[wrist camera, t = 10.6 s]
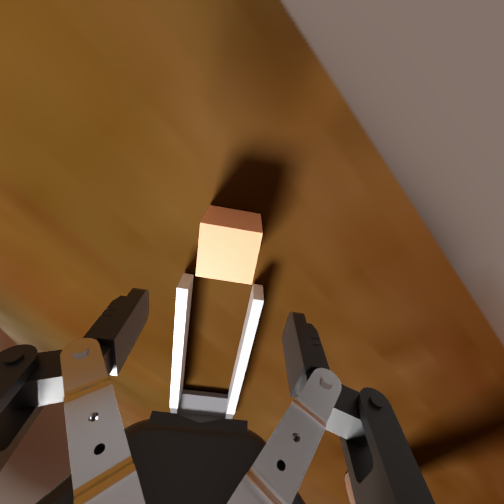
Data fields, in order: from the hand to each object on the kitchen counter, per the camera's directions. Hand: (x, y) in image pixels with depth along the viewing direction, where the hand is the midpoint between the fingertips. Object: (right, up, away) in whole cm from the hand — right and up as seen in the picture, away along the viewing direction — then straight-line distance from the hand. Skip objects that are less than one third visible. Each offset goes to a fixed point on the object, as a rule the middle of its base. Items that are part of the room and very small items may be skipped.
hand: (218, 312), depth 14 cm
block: (0, +5, +9) cm, 10 cm away
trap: (-5, -17, +20) cm, 27 cm away
